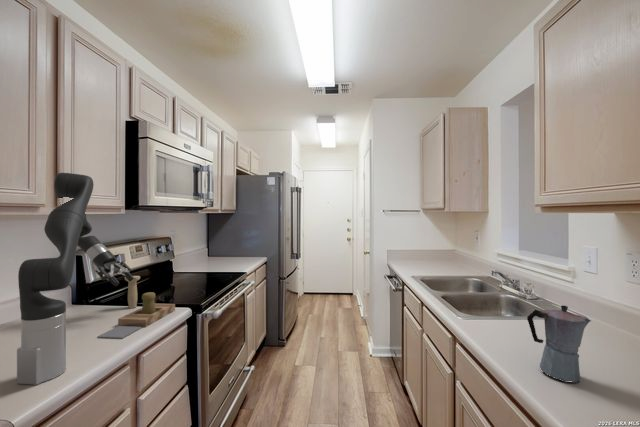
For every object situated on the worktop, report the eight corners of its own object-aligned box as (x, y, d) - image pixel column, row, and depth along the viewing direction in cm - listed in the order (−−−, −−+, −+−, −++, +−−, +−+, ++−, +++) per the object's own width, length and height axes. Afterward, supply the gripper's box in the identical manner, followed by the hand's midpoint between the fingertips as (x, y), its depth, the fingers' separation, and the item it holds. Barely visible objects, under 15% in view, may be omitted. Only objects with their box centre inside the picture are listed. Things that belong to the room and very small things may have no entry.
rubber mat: (122, 338, 106) (122, 337, 106) (97, 337, 106) (97, 336, 106) (141, 328, 116) (141, 326, 116) (118, 327, 116) (118, 325, 116)
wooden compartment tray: (145, 327, 116) (145, 319, 116) (118, 326, 117) (118, 318, 117) (175, 310, 136) (175, 304, 136) (151, 309, 137) (151, 303, 137)
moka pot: (602, 388, 76) (603, 312, 76) (538, 382, 79) (538, 309, 79) (576, 368, 86) (577, 301, 85) (519, 364, 88) (520, 298, 88)
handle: (129, 305, 143) (129, 275, 143) (142, 305, 143) (142, 275, 143) (122, 309, 138) (122, 278, 138) (136, 309, 138) (136, 278, 138)
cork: (138, 320, 123) (138, 295, 123) (143, 316, 129) (143, 291, 129) (154, 319, 125) (154, 294, 125) (158, 314, 131) (158, 290, 131)
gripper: (92, 252, 121) (118, 280, 120) (119, 248, 136) (141, 273, 135) (80, 264, 122) (106, 292, 121) (108, 259, 136) (131, 284, 135)
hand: (125, 282), depth 128 cm, fingers open, 8 cm apart
